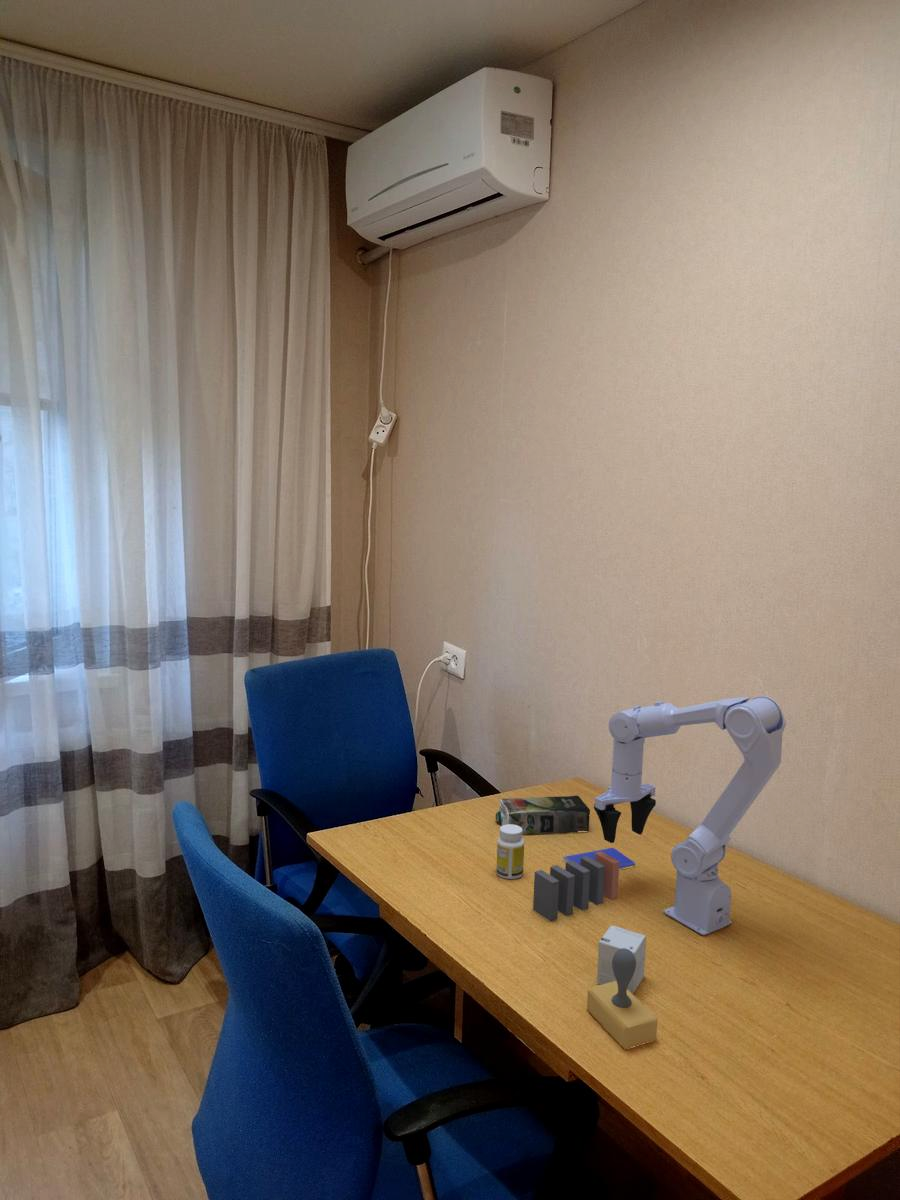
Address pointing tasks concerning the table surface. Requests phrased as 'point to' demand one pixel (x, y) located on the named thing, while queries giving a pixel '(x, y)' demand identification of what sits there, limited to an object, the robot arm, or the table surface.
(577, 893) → the domino
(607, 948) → the skincare box
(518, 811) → the juice carton
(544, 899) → the domino
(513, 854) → the supplement bottle
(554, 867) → the domino
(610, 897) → the domino
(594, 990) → the rubber stamp
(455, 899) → the table surface
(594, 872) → the domino
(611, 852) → the hard drive
